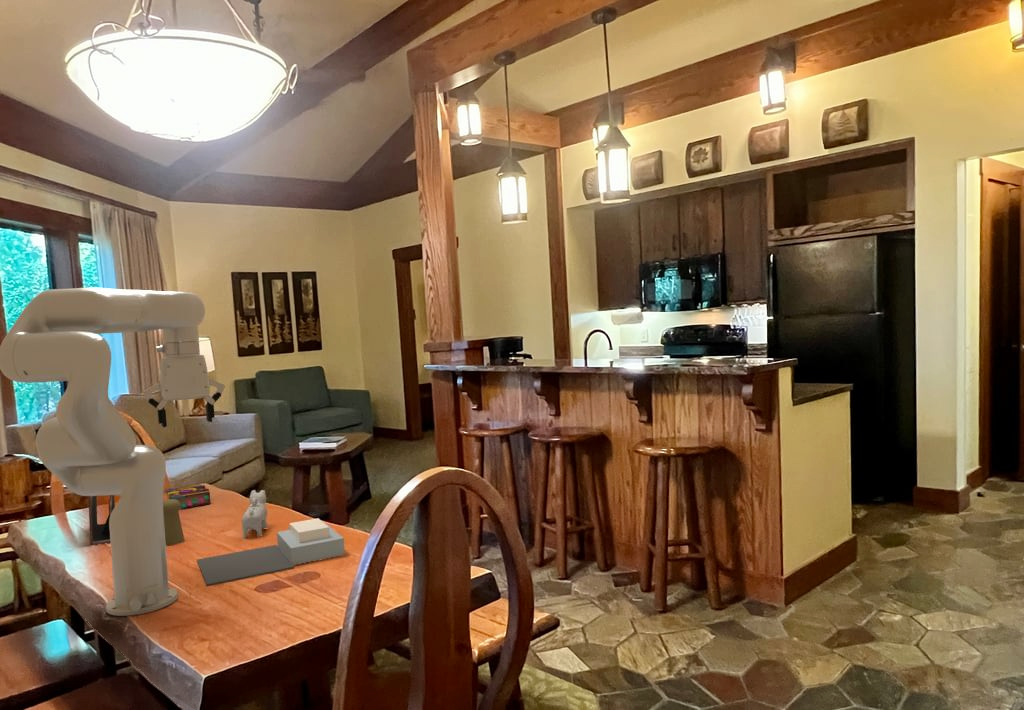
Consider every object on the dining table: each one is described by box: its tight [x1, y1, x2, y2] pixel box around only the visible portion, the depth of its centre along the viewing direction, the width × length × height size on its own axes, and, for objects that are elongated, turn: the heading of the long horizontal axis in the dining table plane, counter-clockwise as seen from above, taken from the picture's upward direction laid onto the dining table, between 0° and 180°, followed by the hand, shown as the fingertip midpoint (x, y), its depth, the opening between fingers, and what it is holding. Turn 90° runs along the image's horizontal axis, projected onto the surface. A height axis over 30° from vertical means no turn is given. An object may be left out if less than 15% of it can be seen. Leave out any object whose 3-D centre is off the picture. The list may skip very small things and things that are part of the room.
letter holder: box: [88, 495, 116, 546], centre depth 194 cm, size 10×20×14 cm, turn 28°
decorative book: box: [165, 484, 211, 511], centre depth 226 cm, size 11×16×5 cm
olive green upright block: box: [163, 499, 185, 547], centre depth 183 cm, size 6×6×11 cm
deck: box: [276, 522, 346, 566], centre depth 169 cm, size 16×12×4 cm
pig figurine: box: [241, 489, 269, 539], centre depth 188 cm, size 5×13×11 cm, turn 9°
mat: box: [196, 544, 295, 587], centre depth 161 cm, size 20×18×1 cm
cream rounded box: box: [289, 517, 330, 543], centre depth 169 cm, size 10×7×2 cm
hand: (187, 423), depth 163 cm, fingers open, 9 cm apart
